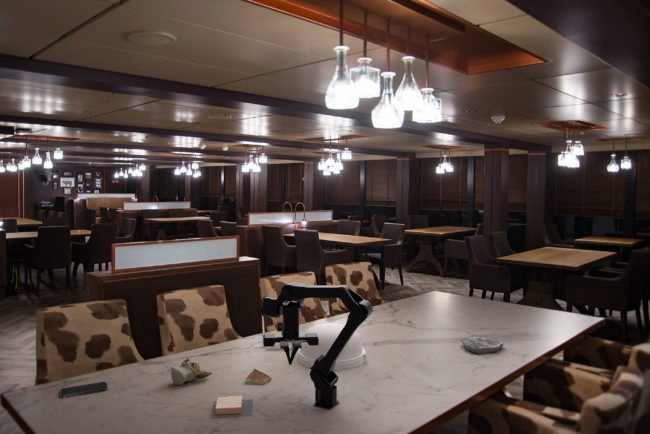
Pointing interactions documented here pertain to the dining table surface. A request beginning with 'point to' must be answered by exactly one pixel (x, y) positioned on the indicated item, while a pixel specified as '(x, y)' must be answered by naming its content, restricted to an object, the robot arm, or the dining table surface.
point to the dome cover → (327, 335)
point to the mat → (245, 411)
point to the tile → (229, 405)
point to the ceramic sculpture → (187, 372)
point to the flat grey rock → (482, 344)
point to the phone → (83, 389)
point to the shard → (257, 378)
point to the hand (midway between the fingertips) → (290, 364)
